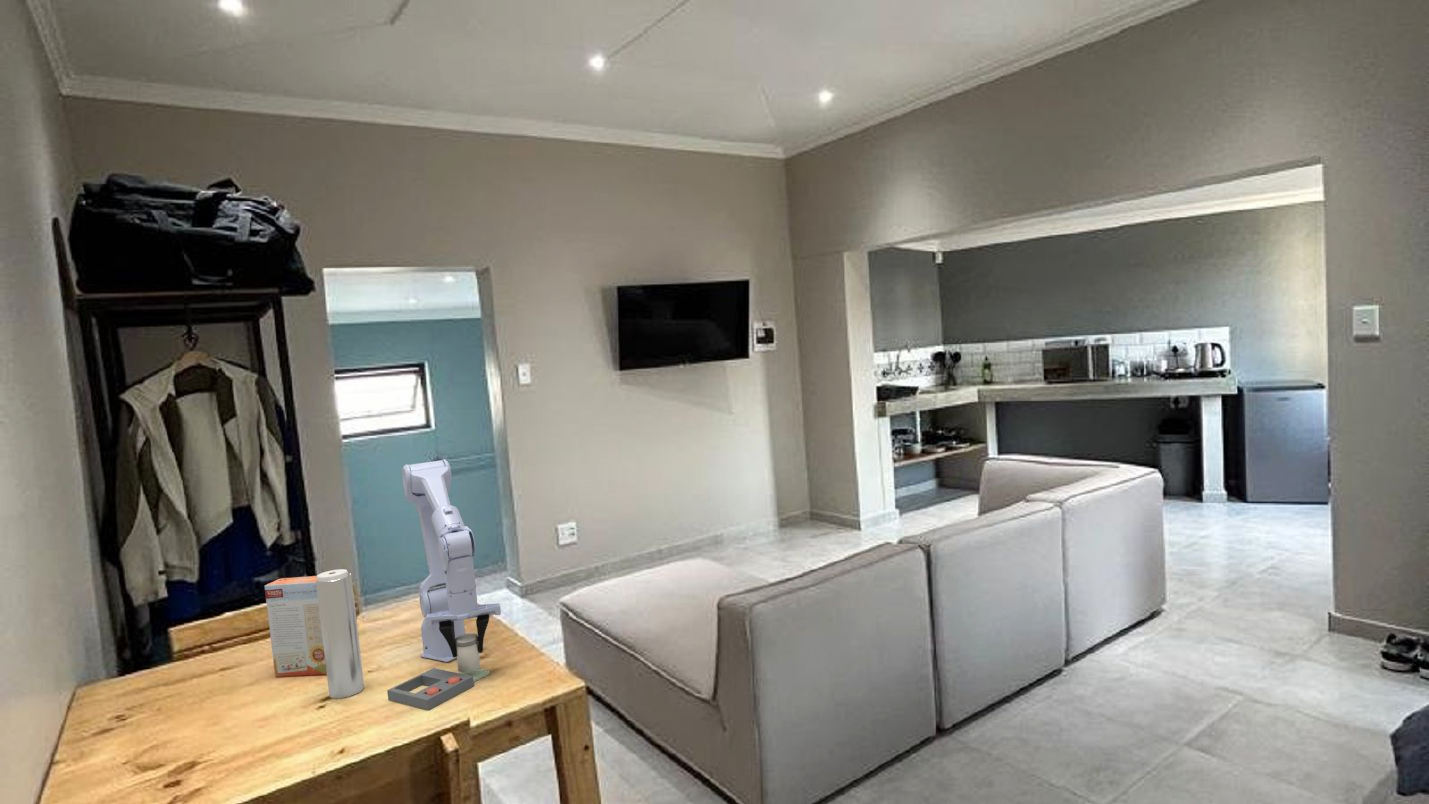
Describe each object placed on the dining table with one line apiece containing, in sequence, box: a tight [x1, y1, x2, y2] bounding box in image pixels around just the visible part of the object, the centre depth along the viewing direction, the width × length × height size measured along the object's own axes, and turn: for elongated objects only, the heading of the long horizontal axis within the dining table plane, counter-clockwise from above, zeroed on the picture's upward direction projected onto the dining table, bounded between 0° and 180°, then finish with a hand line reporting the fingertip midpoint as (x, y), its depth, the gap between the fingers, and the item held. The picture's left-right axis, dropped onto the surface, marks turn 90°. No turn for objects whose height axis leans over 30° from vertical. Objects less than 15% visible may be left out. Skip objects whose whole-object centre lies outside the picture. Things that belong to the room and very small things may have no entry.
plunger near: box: [427, 687, 439, 696], centre depth 144 cm, size 2×2×2 cm
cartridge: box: [455, 632, 481, 673], centre depth 154 cm, size 5×5×6 cm
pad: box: [458, 668, 490, 683], centre depth 155 cm, size 6×5×1 cm
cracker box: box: [264, 575, 327, 678], centre depth 165 cm, size 14×6×21 cm, turn 84°
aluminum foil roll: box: [316, 568, 365, 700], centre depth 152 cm, size 6×6×25 cm
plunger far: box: [448, 676, 460, 685], centre depth 148 cm, size 2×2×2 cm
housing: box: [386, 667, 475, 711], centre depth 148 cm, size 12×11×2 cm
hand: (468, 653), depth 154 cm, fingers closed on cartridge, 4 cm apart
